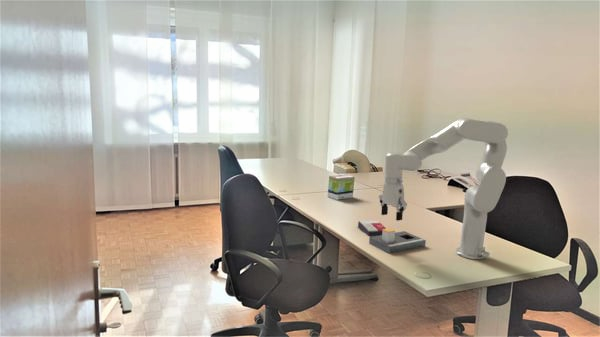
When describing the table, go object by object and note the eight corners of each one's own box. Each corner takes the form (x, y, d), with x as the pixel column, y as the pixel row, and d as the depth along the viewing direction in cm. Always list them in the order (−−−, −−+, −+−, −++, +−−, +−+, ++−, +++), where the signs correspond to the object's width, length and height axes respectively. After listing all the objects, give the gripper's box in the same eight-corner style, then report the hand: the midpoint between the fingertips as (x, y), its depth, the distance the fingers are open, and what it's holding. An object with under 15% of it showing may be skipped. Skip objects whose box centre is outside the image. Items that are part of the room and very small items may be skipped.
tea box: (337, 200, 276) (338, 178, 274) (327, 197, 284) (328, 175, 281) (353, 197, 286) (355, 176, 283) (343, 194, 293) (344, 173, 291)
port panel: (425, 247, 197) (425, 240, 196) (389, 254, 186) (390, 246, 185) (403, 237, 209) (404, 230, 208) (369, 244, 198) (369, 236, 197)
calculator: (368, 230, 207) (358, 219, 222) (367, 238, 208) (357, 227, 223) (389, 230, 210) (377, 219, 224) (388, 238, 211) (377, 227, 225)
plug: (393, 247, 194) (395, 230, 192) (387, 248, 192) (388, 231, 190) (387, 244, 197) (389, 228, 196) (381, 245, 195) (382, 229, 194)
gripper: (413, 183, 183) (411, 221, 186) (386, 176, 198) (385, 211, 201) (400, 185, 179) (398, 223, 183) (374, 177, 194) (372, 213, 197)
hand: (391, 217), depth 192 cm, fingers open, 9 cm apart
